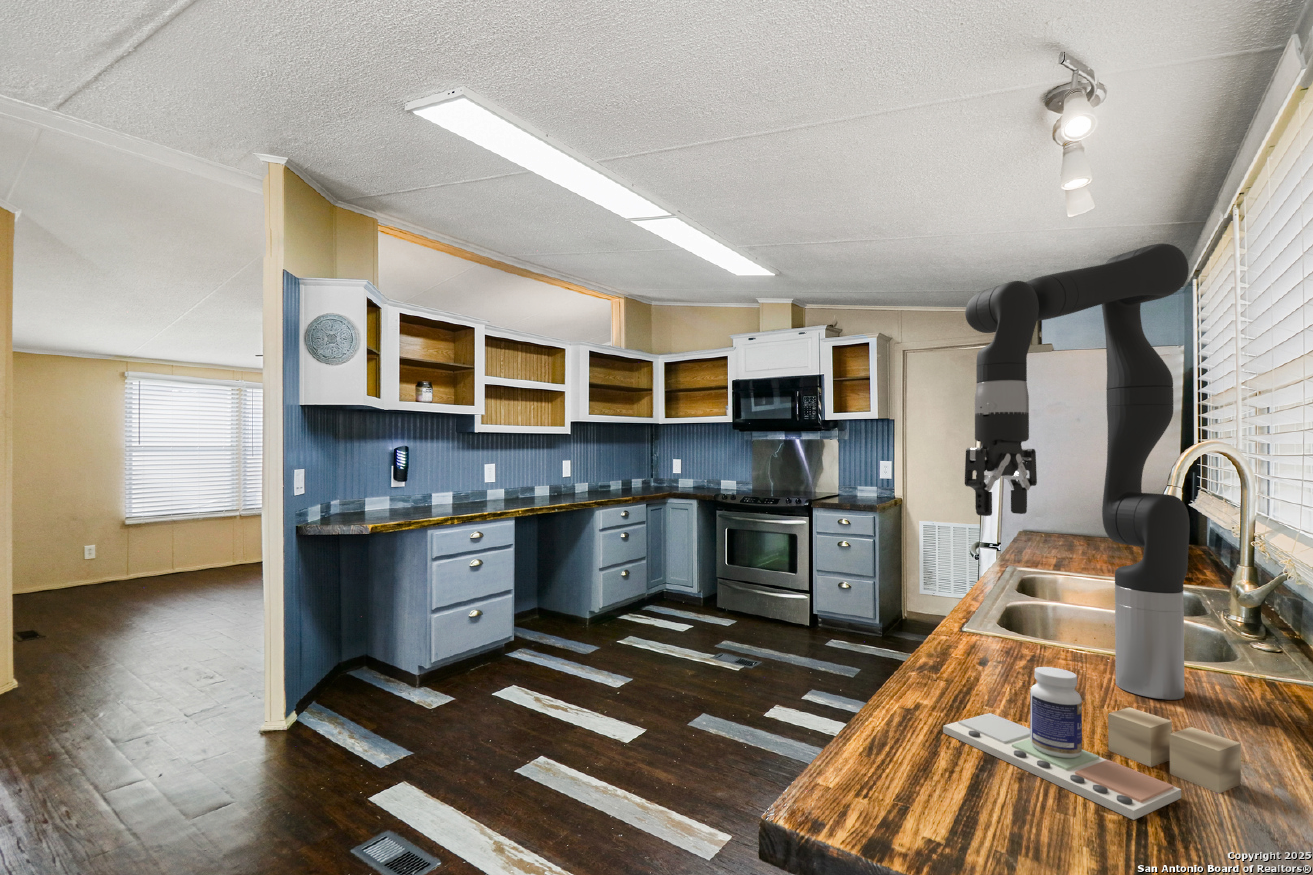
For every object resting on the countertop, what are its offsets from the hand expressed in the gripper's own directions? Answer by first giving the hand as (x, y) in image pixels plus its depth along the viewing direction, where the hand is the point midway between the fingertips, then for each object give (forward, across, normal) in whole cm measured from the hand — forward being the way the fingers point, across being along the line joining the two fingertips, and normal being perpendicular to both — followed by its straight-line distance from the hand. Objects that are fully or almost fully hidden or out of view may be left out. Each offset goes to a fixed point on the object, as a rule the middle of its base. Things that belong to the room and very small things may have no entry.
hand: (1001, 514), depth 100 cm
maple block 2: (+30, -2, +25) cm, 39 cm away
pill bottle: (+29, +10, +14) cm, 34 cm away
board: (+30, +11, +14) cm, 35 cm away
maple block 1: (+30, -2, +18) cm, 35 cm away
